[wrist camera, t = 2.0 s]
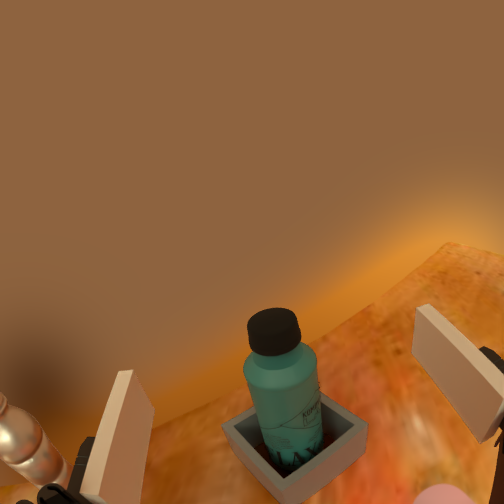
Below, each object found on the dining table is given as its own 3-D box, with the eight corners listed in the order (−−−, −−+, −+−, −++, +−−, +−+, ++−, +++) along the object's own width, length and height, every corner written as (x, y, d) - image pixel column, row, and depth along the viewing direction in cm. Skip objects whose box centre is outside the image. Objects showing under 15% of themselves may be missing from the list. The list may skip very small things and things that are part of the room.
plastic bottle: (121, 505, 25) (16, 391, 18) (87, 535, 20) (-35, 429, 13) (92, 478, 29) (0, 366, 22) (61, 505, 24) (-43, 397, 17)
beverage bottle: (262, 474, 29) (213, 343, 22) (278, 431, 35) (245, 296, 28) (319, 481, 26) (304, 348, 20) (330, 435, 32) (319, 295, 25)
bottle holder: (365, 452, 28) (368, 423, 26) (288, 511, 23) (281, 491, 21) (304, 407, 38) (299, 377, 35) (233, 452, 32) (220, 424, 30)
